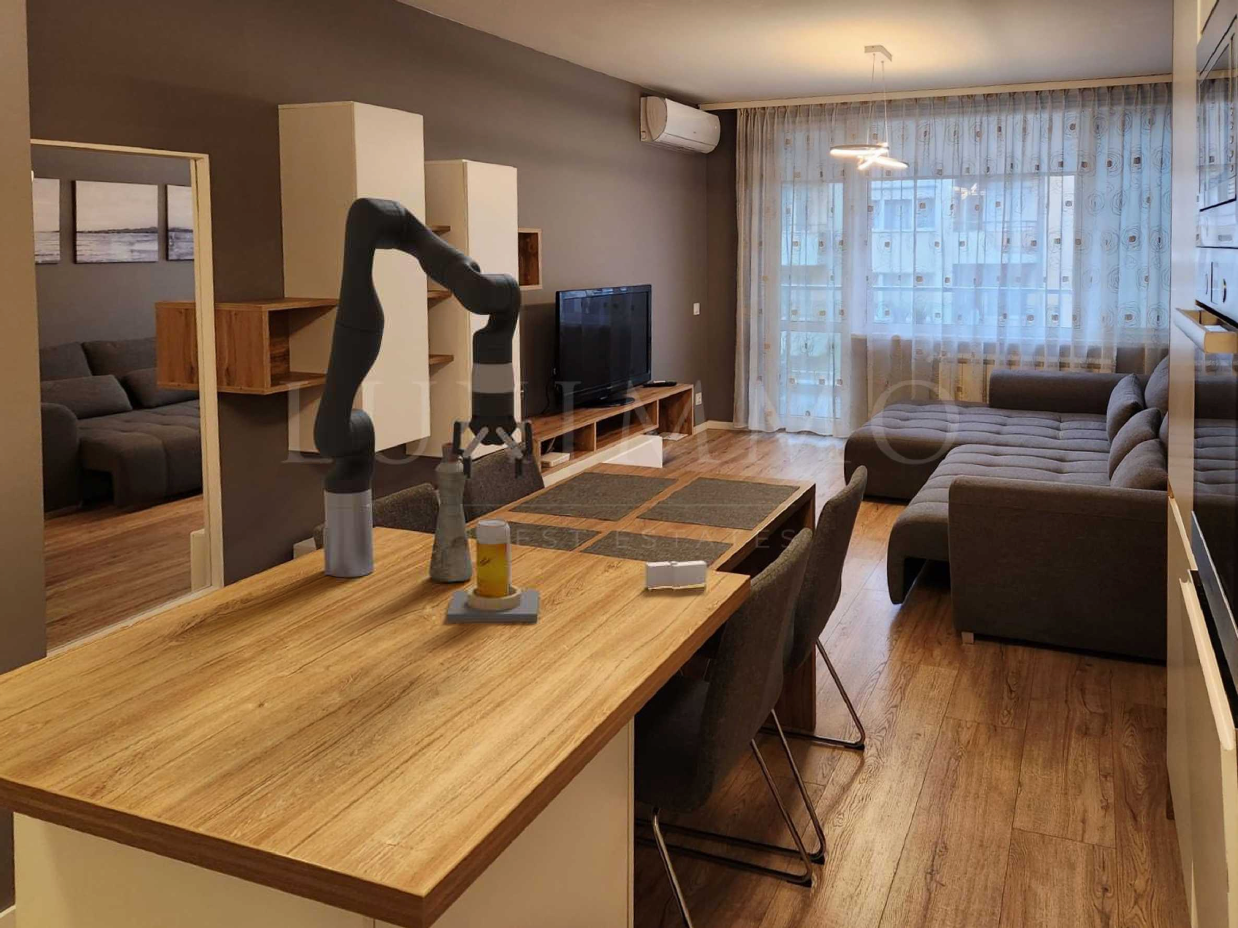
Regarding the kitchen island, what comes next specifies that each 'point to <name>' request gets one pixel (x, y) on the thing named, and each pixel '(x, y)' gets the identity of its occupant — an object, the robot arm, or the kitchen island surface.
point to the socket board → (494, 606)
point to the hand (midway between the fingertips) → (493, 478)
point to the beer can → (493, 558)
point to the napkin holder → (675, 573)
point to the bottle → (450, 523)
